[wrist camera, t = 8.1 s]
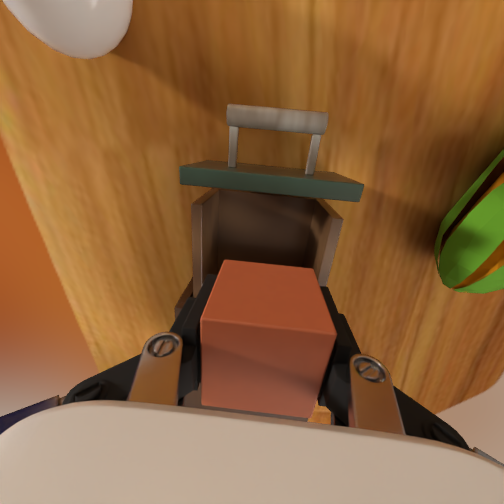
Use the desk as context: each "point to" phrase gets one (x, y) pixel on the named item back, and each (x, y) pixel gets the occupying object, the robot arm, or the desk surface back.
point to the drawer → (266, 202)
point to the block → (265, 339)
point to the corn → (475, 240)
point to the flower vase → (75, 24)
